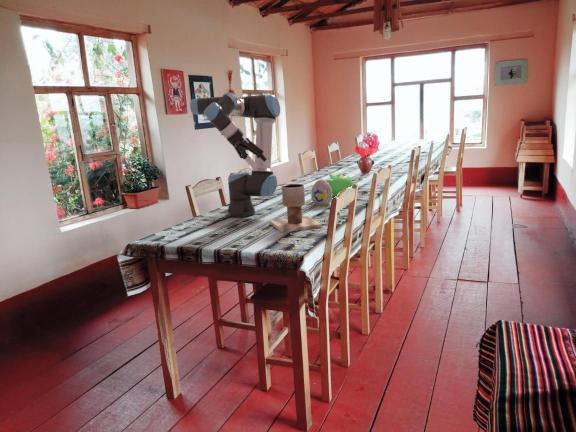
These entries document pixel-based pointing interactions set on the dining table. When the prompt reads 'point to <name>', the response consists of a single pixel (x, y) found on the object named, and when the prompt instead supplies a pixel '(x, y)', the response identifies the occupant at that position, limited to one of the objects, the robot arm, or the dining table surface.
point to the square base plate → (295, 221)
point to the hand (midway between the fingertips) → (262, 166)
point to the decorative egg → (321, 193)
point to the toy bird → (339, 182)
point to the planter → (293, 195)
